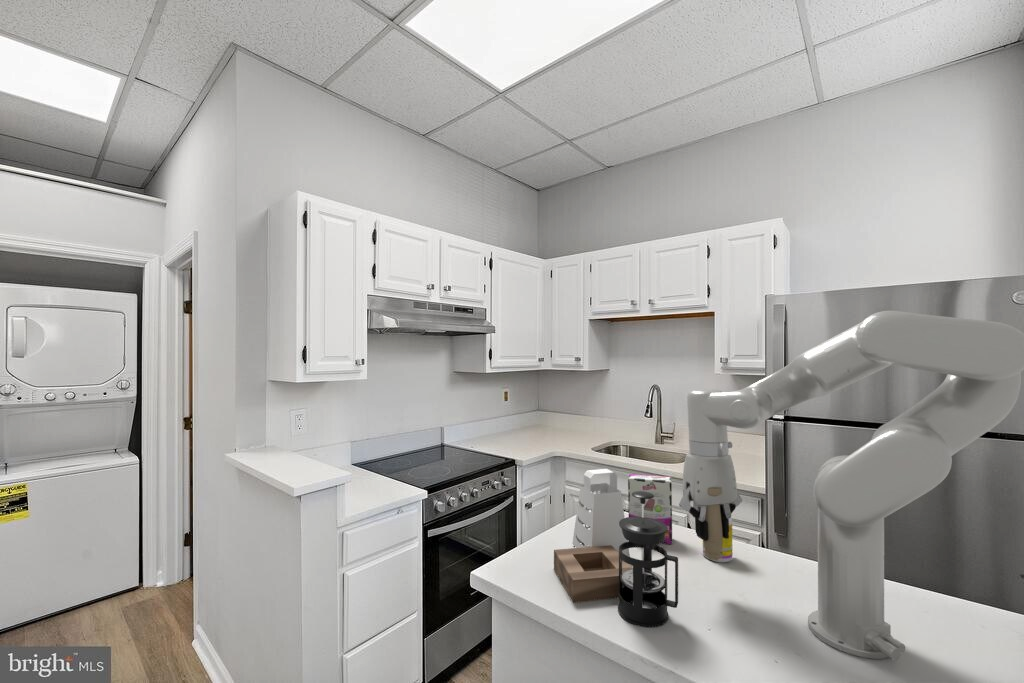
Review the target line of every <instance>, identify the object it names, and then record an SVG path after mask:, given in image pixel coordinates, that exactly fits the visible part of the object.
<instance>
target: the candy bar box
mask: <svg viewBox="0 0 1024 683" xmlns="http://www.w3.org/2000/svg"><path fill="white" fill-rule="evenodd" d="M672 483H673V482H672V477H671V476H661V475H647V474H635V473H633V474H632V473H629V475H628V478H627V487H628V488H627V491H628V494H627V497H628V501H627V502H628V507H627V508H628V510H627V512H628V517H642V504H641V503H640V498H636V497H634V496H632V493H633V492H636V491H645V492H649V493H652V494H653V495H654V497H653V498H651V499H645V504H644V517H647V518H652V519H656V520H658V521H661V522H663V523H664V524H665V525H666V526H667V532H666V533H665V540H664V541H663V542H662V543H661V544H664V543H666V545H667V544H668V545H672V544H673V505H672V504H673V498H672V497H673V495H672V493H673V492H672V491H673V490H672V488H673V487H672V485H673V484H672Z"/></svg>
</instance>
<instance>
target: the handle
mask: <svg viewBox="0 0 1024 683" xmlns="http://www.w3.org/2000/svg"><path fill="white" fill-rule="evenodd" d="M707 494H708V495H710V496H718V495H721V494H722V487H721V488H709V489H708V490H707ZM705 521H707V522H708V541H704V540H702V544H703V543H704V548H705V549H706V550H704V552H705V556H706V557H708V558H709V559H708V558H707V559H708V560H710V561H712V560H718V559H721V558H722V552H721V551H722V545H723V534H722V522H721V513H720V505H712V506H706V514H705ZM705 556H704V557H705ZM706 557H705V558H706Z"/></svg>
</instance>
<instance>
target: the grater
mask: <svg viewBox="0 0 1024 683" xmlns="http://www.w3.org/2000/svg"><path fill="white" fill-rule="evenodd" d="M599 474H609V483H607V482H603V483H593V484H591V479H592V477H593V476H594V475H599ZM594 492H595V493H594ZM598 492H600V493H598ZM577 501H578V502H577V509H576V516H575V523H574V530H573V536H572V544H573V545H574V546H575V547H576V548H582V547H595V546H607V545H612V546H613V547H614V549H615V550H616V551H617V552H618V553H619V546H620V545H621V544H622V543H624V542H628V540H626V539H625V538H624V535H623V533H622V528H620V526H619V521H620V520H621V519H623V518H626V517H625V511H624V503H623V497H622V491H621V490H619V489H618V475H617V474H616V473H615V472H614V471H612V470H610V469H608V468H600V469H589V470H586V471H585V472H584V473H583V484H582V485H580V488H579V493H578V500H577ZM584 507H585V508H584ZM589 511H590V512H589ZM580 543H584V544H580ZM572 544H571V545H572ZM584 545H585V546H584ZM622 553H623V554H625V555H627V556H629V557H631V556H630V548H628V549H625V550H623V551H622Z"/></svg>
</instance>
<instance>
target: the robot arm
mask: <svg viewBox="0 0 1024 683" xmlns="http://www.w3.org/2000/svg"><path fill="white" fill-rule="evenodd" d="M890 366H896V367H902V368H908V369H913V370H919V371H925V372H931V373H938V374H944V375H946V377H945V379H944V380H943V382H942V383H941V384H939V386H938V387H937V388H935V390H933V391H931V392H930V393H929V394H928V395H926V396H925V397H923V399H921V400H920V401H918V402H917V403H916V404H914V405H913V406H911V407H909V408H908V409H906V410H905V411H904V412H902V413H901V414H899V415H897V416H896V417H894V418H893V419H891V420H889V421H888V422H885V423H884V424H882V425H880V426H879V427H878V428H877V429H876V430H875V431H874V433H873V435H872V436H871V440H869V441H868V442H867V443H865V444H864V445H862V446H860V447H859V448H858V449H856V450H855V451H853V452H852V453H850V455H849V454H848V455H844V454H843V455H837V456H833V457H831V458H829V459H828V460H826V461H825V462H823V464H821V466H820V468H819V469H818V472H817V474H816V478H815V480H814V483H813V488H812V489H813V490H812V491H813V498H814V502H815V504H816V506H817V507H818V508H817V610H814V611H812V612H811V613H809V615H807V625H808V628H809V630H810V631H811V632H812V634H813V635H814V636H815V637H817V638H818V639H819V640H821V641H823V642H824V643H825V644H826V645H828V646H831V647H832V648H835V649H837V650H838V651H841V652H844V653H847V654H850V655H853V656H857V657H861V658H867V659H875V660H877V659H880V660H881V659H888V658H890V659H891V660H892V661H895V662H898V661H899V660H900V659H901V657H902V653H904V652H905V650H906V645H905V644H904V643H902V642H901V641H899V640H898V639H895V638H894V637H893V636H892V634H891V633H892V632H891V631H892V630H891V628H892V627H891V624H890V623H888V622H886V621H885V518H886V517H888V516H890V515H891V514H893V513H895V512H896V511H898V510H900V509H901V508H903V507H906V506H907V505H908V504H910V503H912V502H913V501H916V500H917V499H918V498H920V497H922V496H923V495H925V494H927V493H929V492H930V491H932V490H933V489H934V488H936V487H938V485H940V484H941V483H942V482H943V481H944V480H945V479H946V478H947V477H948V475H949V473H950V471H951V469H952V463H953V460H952V459H953V457H952V456H954V455H955V454H957V453H958V452H959V451H961V450H963V449H964V448H966V447H968V446H969V445H971V444H972V443H973V442H974V441H976V440H977V439H979V438H980V437H982V436H983V435H985V434H986V433H988V432H989V431H990V430H992V429H993V428H994V427H997V425H999V424H1000V423H1001V422H1002V421H1003V420H1005V418H1006V417H1007V416H1008V415H1009V414H1010V413H1011V411H1012V409H1014V406H1015V404H1016V403H1017V401H1018V398H1019V394H1020V391H1021V385H1022V382H1021V381H1022V373H1021V372H1022V371H1024V332H1022V331H1021V330H1020V329H1018V328H1016V327H1014V326H1012V325H1010V324H1008V323H1007V324H1006V323H1003V322H999V321H991V320H982V319H972V318H962V317H961V318H960V317H951V316H943V315H942V316H941V315H932V314H924V313H923V314H922V313H914V312H907V311H900V310H883V311H878V312H875V313H872V314H870V315H869V316H868V317H866V318H865V319H863V320H862V321H861V322H859V323H857V324H855V325H853V326H851V327H850V328H848V329H846V330H844V331H843V332H840V333H839V334H836V335H834V336H833V337H831V338H829V339H827V340H825V341H824V342H821V343H819V344H818V345H815V346H814V347H811V348H810V349H808V350H806V351H804V352H802V353H801V354H799V355H798V356H796V357H795V358H794V359H793V360H792V361H790V363H788V364H787V365H786V366H784V367H782V368H781V369H779V370H777V371H775V372H773V373H772V374H770V375H768V376H766V377H763V379H760V380H758V381H757V382H755V383H753V384H750V385H749V386H746V387H745V388H741V389H739V390H738V389H737V390H733V391H722V390H719V389H713V388H708V389H707V388H705V389H702V388H700V389H699V388H697V389H693V390H690V391H689V392H688V393H687V396H686V399H687V401H686V402H687V403H686V404H687V423H688V424H687V425H688V426H687V427H688V444H689V445H688V446H689V447H688V448H689V454H686V455H685V458H684V464H683V470H682V472H683V473H682V497H681V499H680V501H679V503H678V506H679V507H681V508H682V509H684V510H685V511H687V512H688V513H689V514H690V515H691V517H693V518H694V525H695V526H694V527H695V528H694V530H695V534H696V536H697V537H698V538H699V539H701V540H702V541H703V540H704V541H708V522H707V521H705V514H706V506H712V505H720V513H721V522H722V534H723V537H724V538H725V539H728V538H729V519H730V518H731V519H732V514H733V512H734V511H735V509H736V507H738V506H739V505H740V504H742V502H743V498H742V497H741V495H740V494H739V493H738V489H737V479H736V478H737V477H736V472H735V466H734V462H733V459H732V455H731V454H729V452H730V451H729V449H732V448H733V443H732V441H729V440H728V439H729V438H728V427H731V428H736V429H743V430H746V429H747V430H748V429H753V428H755V427H758V426H759V425H760V424H761V423H763V422H764V421H766V420H768V419H770V418H772V417H774V416H777V415H778V414H780V413H783V412H785V411H786V410H788V409H790V408H793V407H795V406H798V405H799V404H802V403H803V402H807V401H809V400H812V399H816V398H820V397H825V396H828V395H830V394H832V393H835V392H837V391H839V390H842V389H843V388H846V387H848V386H850V385H851V384H853V383H854V384H855V383H856V382H858V381H860V380H862V379H865V378H866V377H869V376H871V375H873V374H875V373H877V372H880V371H882V370H884V369H886V368H888V367H890ZM721 487H722V494H721V495H718V496H710V495H708V494H707V490H708V489H709V488H721ZM691 502H693V503H692V505H691V504H690V503H691Z"/></svg>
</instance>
